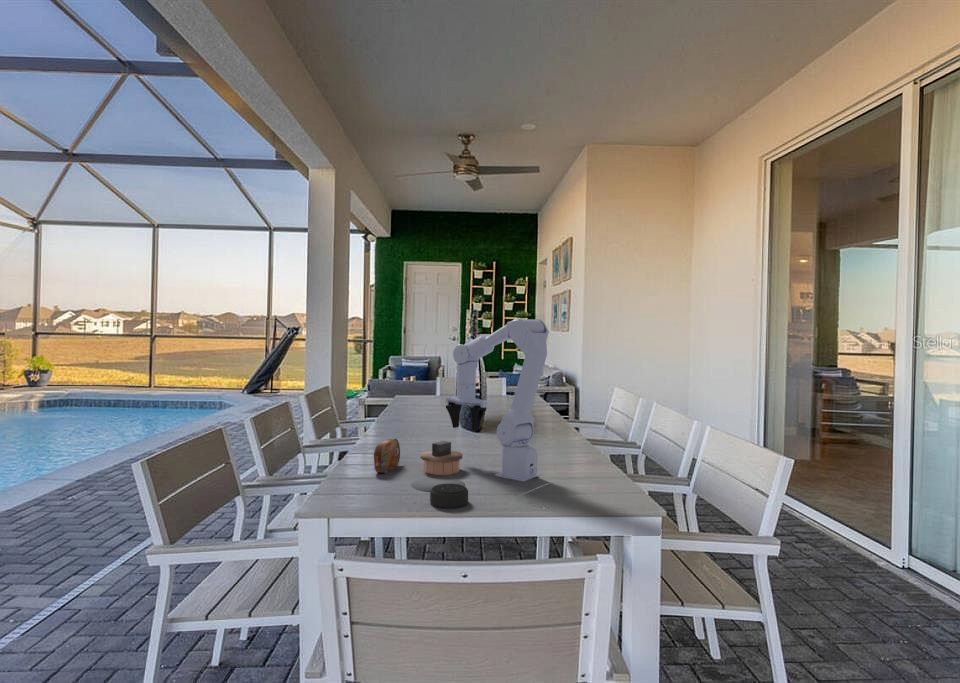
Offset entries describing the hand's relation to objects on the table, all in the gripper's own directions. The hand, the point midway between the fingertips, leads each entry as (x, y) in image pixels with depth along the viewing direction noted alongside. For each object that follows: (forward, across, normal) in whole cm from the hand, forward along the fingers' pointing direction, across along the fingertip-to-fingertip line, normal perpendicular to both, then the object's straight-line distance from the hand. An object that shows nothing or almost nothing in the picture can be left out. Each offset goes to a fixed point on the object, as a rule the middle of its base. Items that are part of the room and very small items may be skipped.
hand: (465, 428), depth 173 cm
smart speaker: (+11, +22, -34) cm, 42 cm away
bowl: (+10, +1, -12) cm, 16 cm away
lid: (+6, +1, -12) cm, 14 cm away
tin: (+11, -12, -21) cm, 26 cm away
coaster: (+10, +10, -24) cm, 28 cm away
